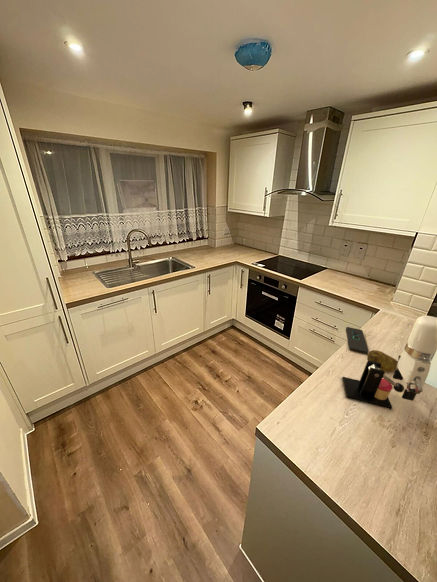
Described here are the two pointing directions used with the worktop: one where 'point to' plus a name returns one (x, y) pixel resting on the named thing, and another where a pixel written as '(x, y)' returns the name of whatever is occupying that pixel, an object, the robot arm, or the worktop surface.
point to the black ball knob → (390, 381)
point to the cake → (383, 390)
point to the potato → (382, 360)
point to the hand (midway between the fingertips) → (401, 388)
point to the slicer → (366, 386)
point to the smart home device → (356, 340)
